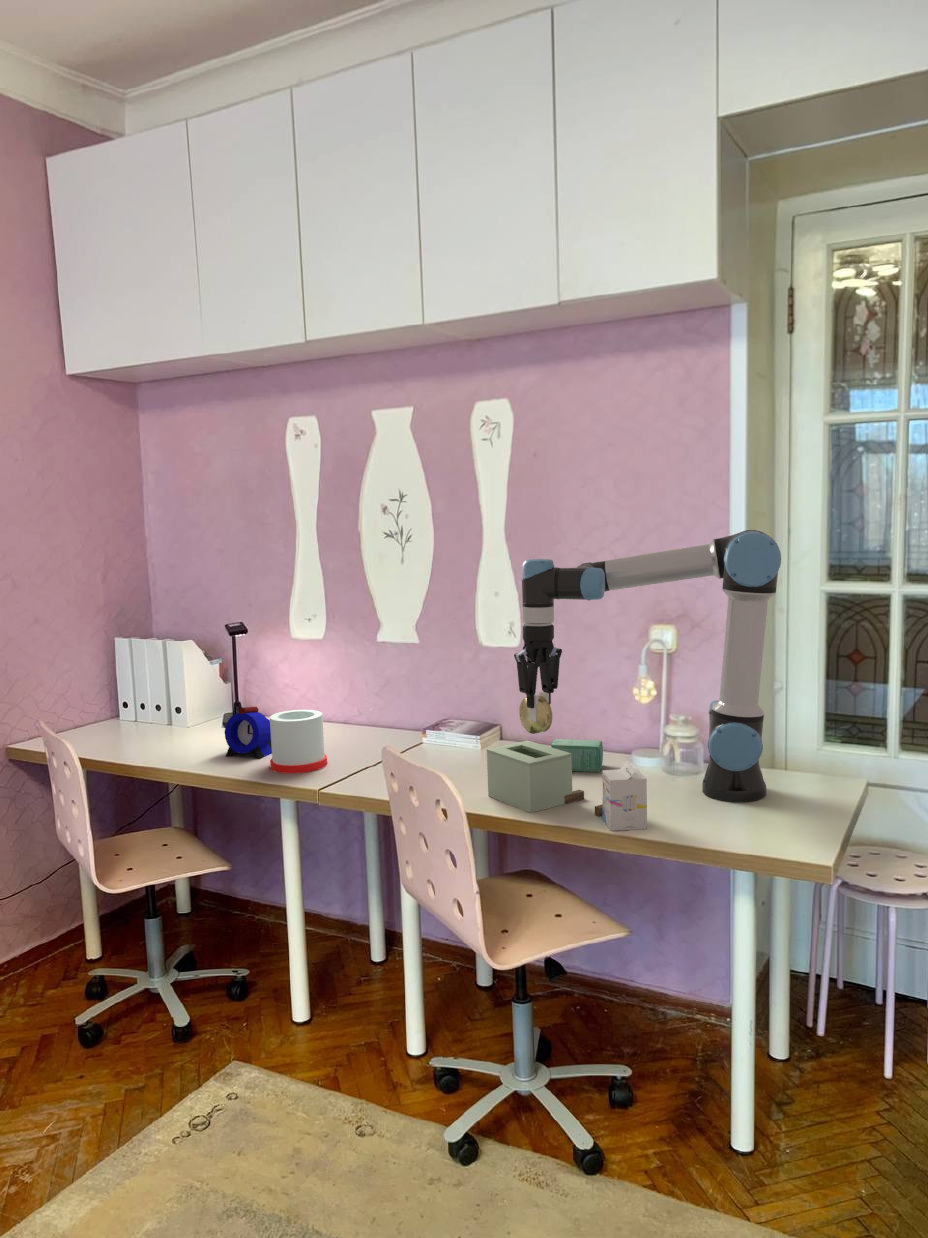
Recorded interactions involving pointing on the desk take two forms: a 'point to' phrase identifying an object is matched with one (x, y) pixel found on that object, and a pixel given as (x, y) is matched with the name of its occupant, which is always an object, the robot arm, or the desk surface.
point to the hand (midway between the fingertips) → (538, 719)
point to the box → (582, 753)
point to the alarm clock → (249, 733)
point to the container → (297, 741)
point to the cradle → (579, 796)
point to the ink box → (624, 799)
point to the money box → (529, 775)
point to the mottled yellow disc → (543, 716)
